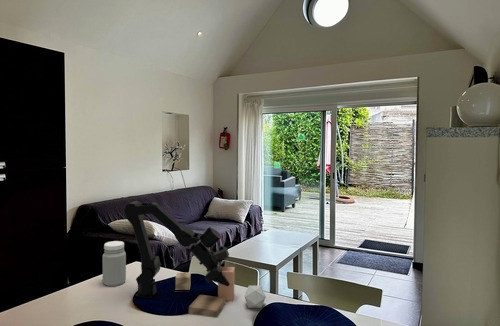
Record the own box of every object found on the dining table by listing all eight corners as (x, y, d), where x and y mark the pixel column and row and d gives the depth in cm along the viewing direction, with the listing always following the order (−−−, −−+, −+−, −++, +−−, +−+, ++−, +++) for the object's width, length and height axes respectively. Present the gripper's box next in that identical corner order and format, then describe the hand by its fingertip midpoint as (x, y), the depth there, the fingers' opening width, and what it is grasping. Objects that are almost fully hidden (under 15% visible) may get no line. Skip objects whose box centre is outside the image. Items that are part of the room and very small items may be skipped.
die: (258, 315, 132) (271, 292, 135) (239, 302, 134) (252, 279, 136) (257, 313, 140) (269, 291, 143) (239, 300, 141) (251, 279, 144)
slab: (188, 314, 131) (188, 306, 131) (199, 301, 142) (199, 294, 142) (216, 318, 129) (216, 310, 129) (225, 305, 140) (225, 298, 139)
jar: (117, 276, 165) (117, 239, 164) (130, 282, 160) (130, 243, 158) (98, 283, 157) (97, 243, 156) (110, 289, 152) (110, 248, 151)
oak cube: (175, 291, 151) (175, 277, 150) (176, 285, 157) (176, 272, 156) (189, 291, 151) (189, 277, 151) (190, 285, 157) (190, 272, 157)
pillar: (217, 300, 142) (218, 271, 142) (220, 294, 148) (220, 266, 148) (232, 301, 142) (233, 272, 141) (234, 295, 148) (234, 267, 147)
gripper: (213, 248, 135) (242, 278, 135) (220, 235, 153) (245, 261, 153) (193, 267, 136) (221, 297, 136) (202, 252, 154) (227, 278, 154)
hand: (229, 282), depth 145 cm, fingers closed on pillar, 6 cm apart
